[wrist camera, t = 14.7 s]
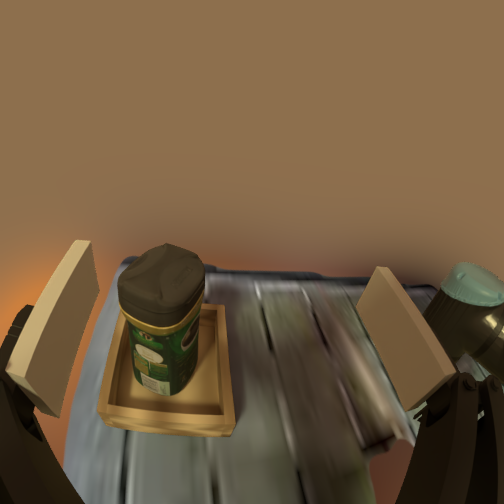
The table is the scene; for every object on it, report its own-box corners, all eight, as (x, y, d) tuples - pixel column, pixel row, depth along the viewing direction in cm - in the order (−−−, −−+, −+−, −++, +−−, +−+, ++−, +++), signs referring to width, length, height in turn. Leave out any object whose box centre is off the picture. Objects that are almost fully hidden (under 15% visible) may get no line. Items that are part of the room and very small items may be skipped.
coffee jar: (157, 335, 40) (156, 229, 30) (204, 355, 39) (219, 251, 29) (125, 380, 32) (100, 274, 22) (176, 406, 31) (174, 309, 21)
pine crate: (220, 325, 46) (224, 305, 43) (229, 436, 29) (235, 424, 27) (127, 317, 42) (124, 295, 40) (106, 425, 26) (96, 410, 23)
